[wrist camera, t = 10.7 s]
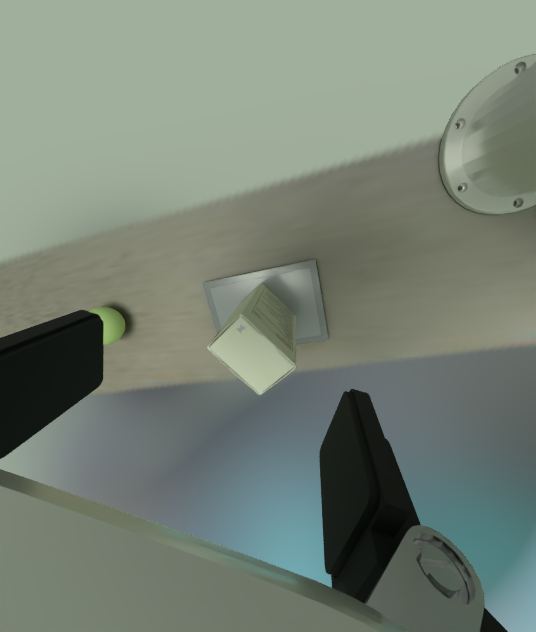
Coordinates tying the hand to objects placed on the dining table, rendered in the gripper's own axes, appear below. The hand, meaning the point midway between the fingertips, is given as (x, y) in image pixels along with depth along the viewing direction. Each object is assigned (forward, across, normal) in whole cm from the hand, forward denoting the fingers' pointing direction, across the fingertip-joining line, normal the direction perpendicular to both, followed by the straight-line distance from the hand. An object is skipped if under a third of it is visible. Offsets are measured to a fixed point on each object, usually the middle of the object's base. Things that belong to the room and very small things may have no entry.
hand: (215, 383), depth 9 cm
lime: (+22, +21, +12) cm, 33 cm away
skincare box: (+22, 0, +4) cm, 22 cm away
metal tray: (+23, +1, +4) cm, 23 cm away
